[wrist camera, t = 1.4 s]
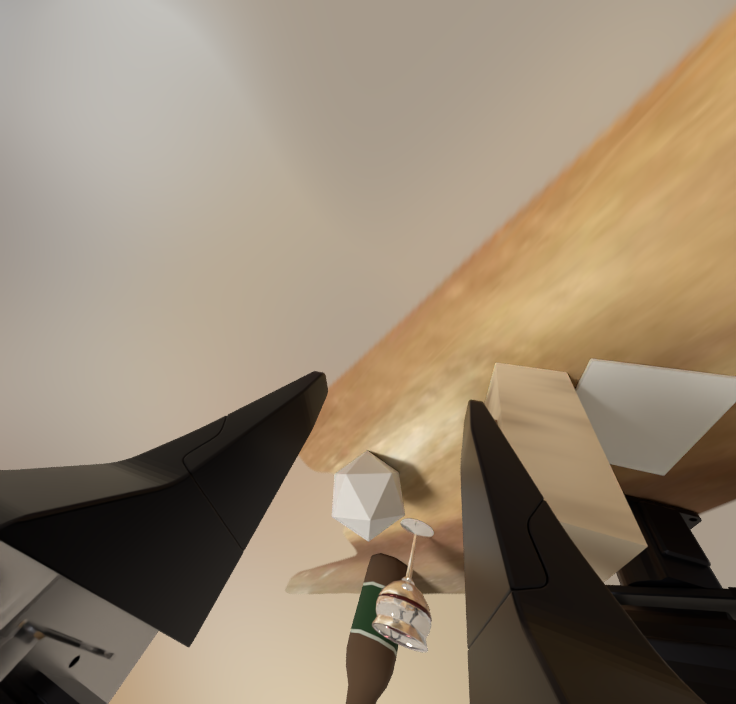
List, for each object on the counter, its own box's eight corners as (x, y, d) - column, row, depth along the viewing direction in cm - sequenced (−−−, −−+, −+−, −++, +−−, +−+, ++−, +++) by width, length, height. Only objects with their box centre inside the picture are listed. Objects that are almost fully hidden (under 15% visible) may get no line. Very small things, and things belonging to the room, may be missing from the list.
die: (336, 452, 37) (334, 534, 33) (332, 448, 30) (328, 553, 26) (394, 451, 38) (398, 532, 34) (405, 447, 30) (412, 551, 26)
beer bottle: (367, 560, 53) (308, 773, 34) (375, 547, 49) (312, 784, 30) (404, 578, 52) (364, 808, 33) (415, 566, 48) (376, 826, 29)
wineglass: (386, 516, 41) (359, 618, 32) (421, 512, 37) (403, 627, 28) (412, 541, 43) (395, 645, 33) (449, 540, 39) (441, 657, 29)
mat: (661, 472, 22) (663, 475, 22) (545, 447, 24) (546, 450, 24) (751, 378, 17) (756, 381, 16) (590, 358, 19) (592, 360, 19)
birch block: (538, 433, 24) (579, 602, 15) (477, 421, 26) (478, 567, 16) (566, 372, 20) (648, 546, 11) (492, 361, 22) (507, 506, 12)
